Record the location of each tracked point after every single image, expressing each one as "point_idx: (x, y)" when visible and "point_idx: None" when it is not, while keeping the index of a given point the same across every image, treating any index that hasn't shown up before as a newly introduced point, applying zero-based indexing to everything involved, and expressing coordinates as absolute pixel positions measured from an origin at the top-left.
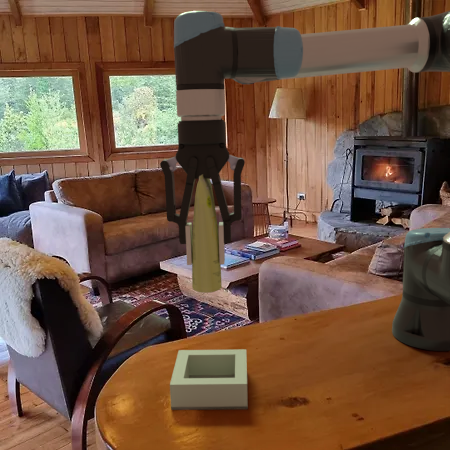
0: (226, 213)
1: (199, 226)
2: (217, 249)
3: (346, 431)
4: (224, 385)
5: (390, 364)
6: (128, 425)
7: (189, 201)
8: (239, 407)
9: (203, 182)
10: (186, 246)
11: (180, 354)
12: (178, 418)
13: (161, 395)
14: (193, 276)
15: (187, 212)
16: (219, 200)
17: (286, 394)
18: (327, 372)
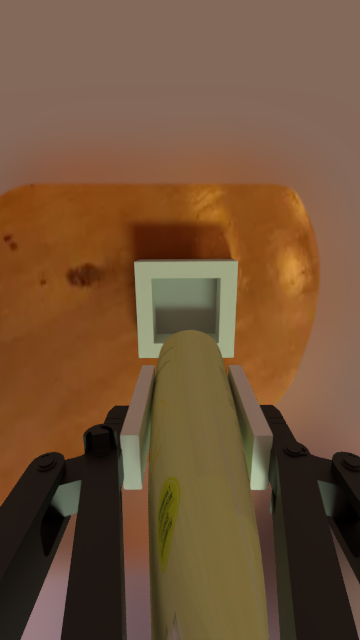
0: (91, 477)
1: (214, 408)
2: (156, 390)
3: (24, 211)
4: (164, 261)
5: None
6: (280, 225)
7: (288, 540)
8: (149, 259)
9: None
10: (252, 391)
11: (230, 345)
12: (221, 240)
13: (246, 291)
14: (221, 356)
15: (280, 484)
16: (106, 543)
17: (93, 292)
18: (43, 342)
